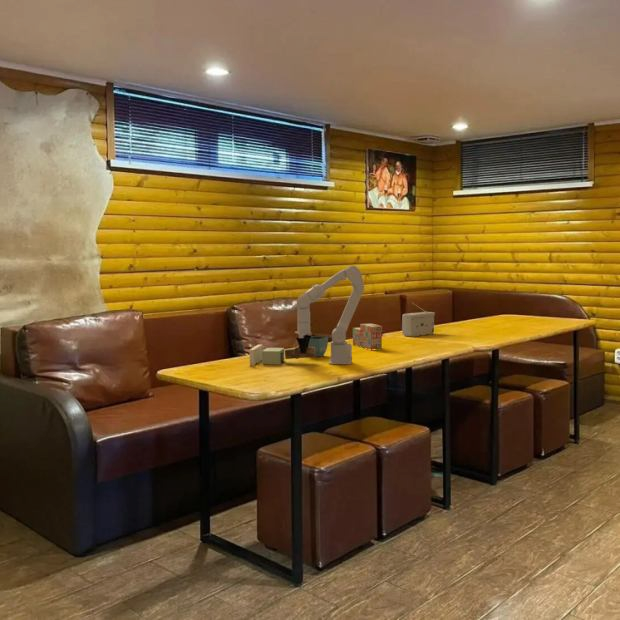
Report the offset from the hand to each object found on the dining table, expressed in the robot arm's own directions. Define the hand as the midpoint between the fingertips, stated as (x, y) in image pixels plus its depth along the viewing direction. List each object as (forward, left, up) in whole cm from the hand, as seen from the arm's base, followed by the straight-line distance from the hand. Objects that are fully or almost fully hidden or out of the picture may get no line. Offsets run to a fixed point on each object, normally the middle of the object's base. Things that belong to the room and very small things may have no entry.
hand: (304, 352), depth 299 cm
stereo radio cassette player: (-50, -102, -5) cm, 114 cm away
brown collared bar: (+3, 0, -3) cm, 4 cm away
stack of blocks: (-24, -51, -5) cm, 57 cm away
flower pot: (-3, -20, -5) cm, 21 cm away
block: (+14, 0, -5) cm, 15 cm away
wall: (+22, 0, -5) cm, 23 cm away
